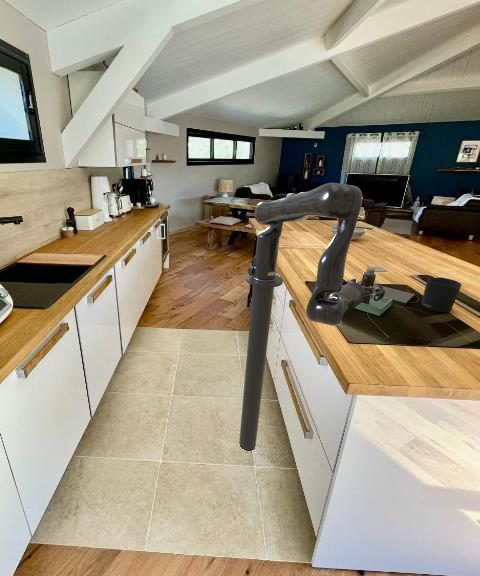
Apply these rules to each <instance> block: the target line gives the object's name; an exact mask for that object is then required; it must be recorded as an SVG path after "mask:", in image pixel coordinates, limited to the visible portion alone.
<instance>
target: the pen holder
mask: <svg viewBox="0 0 480 576" xmlns="http://www.w3.org/2000/svg"><path fill="white" fill-rule="evenodd" d="M461 288H462V283H461V282H459V281H457V280H455V279H451V278H447V277H438V276H437V277H434V278H431V279H429V278H427V280H426V284H425V287H424V291H423V294H422V299H421V306H422V307H423V308H424V309H426V310H429V311H432V312H436V313H442V314H443V313H445V314H446V313H449V312H451V311H452V309H453V307H454V305H455V302H456V300H457V299H458V298H457V297H458V295H459V293H460V290H461Z"/></svg>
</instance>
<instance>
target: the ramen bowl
mask: <svg viewBox="0 0 480 576" xmlns="http://www.w3.org/2000/svg"><path fill="white" fill-rule="evenodd" d="M337 227H338V223H334V224H333V225H331V226H329V228H330V231H331V233H332V234H333V235H334V236H335V233H336V231H337ZM368 230H374V228H373V227H364V226H357V225H356V226H355V230H354V233H353V236H352V239H351V241H353V240H356V239H359V238H362V237H363V236H364V235H365V234H366V233H367V232H368Z"/></svg>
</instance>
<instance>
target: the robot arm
mask: <svg viewBox="0 0 480 576" xmlns="http://www.w3.org/2000/svg"><path fill="white" fill-rule="evenodd" d="M362 203H363V193H362V190H361V189H360V187H358V186H356V185H351V184H346V183H345V184H344V183H339V182H328V183H325V184H322V185H319V186H318V187H316V188H313V189H311V190H308V191H303V192H300V193H294V194H291V195H288V196H285V197H282V198H279V199H276V200H273V201H261V202H259V203H258V204H257V205H256V207H255V209H254V213H253V214H254V215H253V216H254V219H255V221H256V222H257V224H259V225H262V226H268V227H267V228H266V229H264V230H263V231H259V233H257V236H256V249H255V256H253V260H252V265H251V266H248V267H247V269H248V270H247V275H250V276H251V275H252V278H254V279H255V280H257V281H260V282H272V281H275V275H277V274H276V272H277V265H278V258H279V257H278V255H279V247H280V240H281V239H280V238H281V236H282V233H283V225H284V223H298V222H303V221H305V220H308V219H309V218H310V217H311V216H315V217H316V216H318V217H323V218H331V219H337V224H338V227H337V231H336V233H335V235H334V236H333V238H332V239H331V241H330V242H329V244H328V245H327V246H326V248H325V249H324V251H323V252H322V254H321V256H320V258H319V260H318V265H317V272H316V279H315V285H314V287H313V291H312V293H311V295H310V298H309V300H308V301H307V302H308V303H307V305H306V309H305V313H306V316H307V319H308V320H309V321H311V322H313V323H318V324H323V325H326V326H331V327H337V326H340V325H342V324H343V323H344V321H345V319H346V315H347V313H348V312H350V311H351V310H353V309H356V308H355V307H356V306H358V305H359V304H360V303H362V302H363V301H364V300H365V299H366V298H369V297H371V298H374V301H379V300H380V299H382V298H383V297H384V294H385V290H383V287H382V286H383V285H381V284H378V285H379V286H377V287H376V288H373V287H372V286H367V287H365V286H362V285H360V284H358V283H357V278H352V279H348V280H346V279H344V276H345V268H346V261H347V258H348V253H349V249H350V245H351V243H352V240H351V239H352V236H353V233H354V230H355V226H356V227H357V223H358V219H359V216H360V212H361V208H362V205H363V204H362ZM368 289H370V290H368ZM374 290H375V293H373V292H374ZM327 294H329V295H328V296H327V297H326V299H325V296H326V295H327Z"/></svg>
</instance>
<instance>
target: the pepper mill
mask: <svg viewBox="0 0 480 576" xmlns="http://www.w3.org/2000/svg"><path fill="white" fill-rule="evenodd" d="M375 272H376V270H375V269H374V268H366V269H365V272H364V271H363V273H362V277H361V280H360V281H361V285H362V286H365V287H367V286H372V287H373V286H374V284H375V281H376V278H377V274H376V273H375ZM368 290H370V289H368ZM370 298H371V297H369V298H366V299H365V300H364V301H363V302H362V303H365V304H369V302H370Z"/></svg>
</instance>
